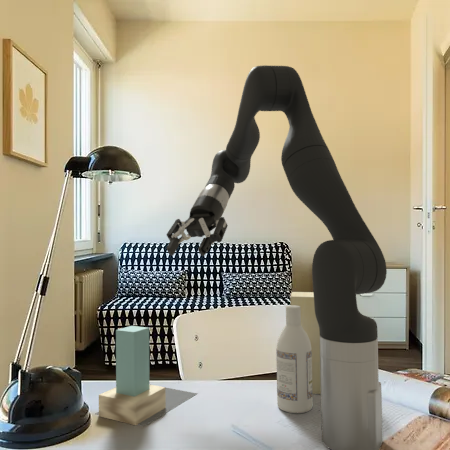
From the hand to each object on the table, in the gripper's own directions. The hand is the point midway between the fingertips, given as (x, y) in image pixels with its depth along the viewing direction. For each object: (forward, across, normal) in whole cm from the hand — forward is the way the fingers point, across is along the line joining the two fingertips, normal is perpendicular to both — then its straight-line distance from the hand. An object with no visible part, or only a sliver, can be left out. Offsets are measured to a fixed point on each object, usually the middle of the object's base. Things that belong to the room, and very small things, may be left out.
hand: (185, 252), depth 96 cm
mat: (+29, -2, +14) cm, 32 cm away
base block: (+32, -2, +10) cm, 34 cm away
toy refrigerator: (+12, +24, +31) cm, 41 cm away
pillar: (+30, -2, +8) cm, 31 cm away
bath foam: (+21, +25, +23) cm, 40 cm away
